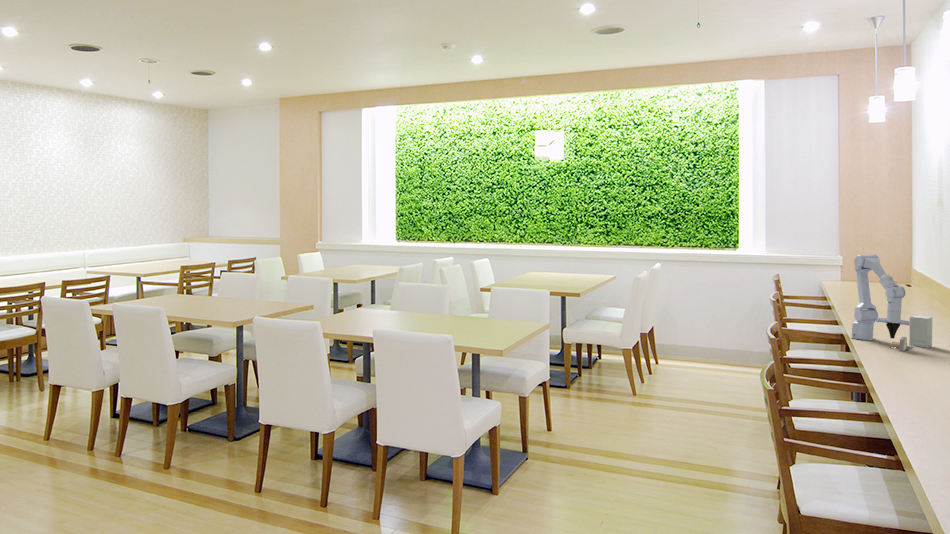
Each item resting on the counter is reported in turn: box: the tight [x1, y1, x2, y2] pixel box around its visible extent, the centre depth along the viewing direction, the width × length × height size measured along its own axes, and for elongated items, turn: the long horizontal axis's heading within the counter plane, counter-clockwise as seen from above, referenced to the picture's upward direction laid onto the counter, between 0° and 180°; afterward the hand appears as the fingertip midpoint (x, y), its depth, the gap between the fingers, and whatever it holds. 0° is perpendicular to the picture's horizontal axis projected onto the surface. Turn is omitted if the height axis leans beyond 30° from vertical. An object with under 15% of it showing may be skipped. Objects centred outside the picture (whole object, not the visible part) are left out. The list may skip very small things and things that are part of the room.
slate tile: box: [898, 336, 908, 353], centre depth 321 cm, size 2×6×6 cm, turn 136°
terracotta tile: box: [889, 341, 900, 348], centre depth 329 cm, size 2×6×6 cm
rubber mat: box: [897, 345, 914, 351], centre depth 328 cm, size 8×10×1 cm
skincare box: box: [908, 315, 933, 349], centre depth 332 cm, size 8×6×15 cm
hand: (892, 338), depth 330 cm, fingers closed
